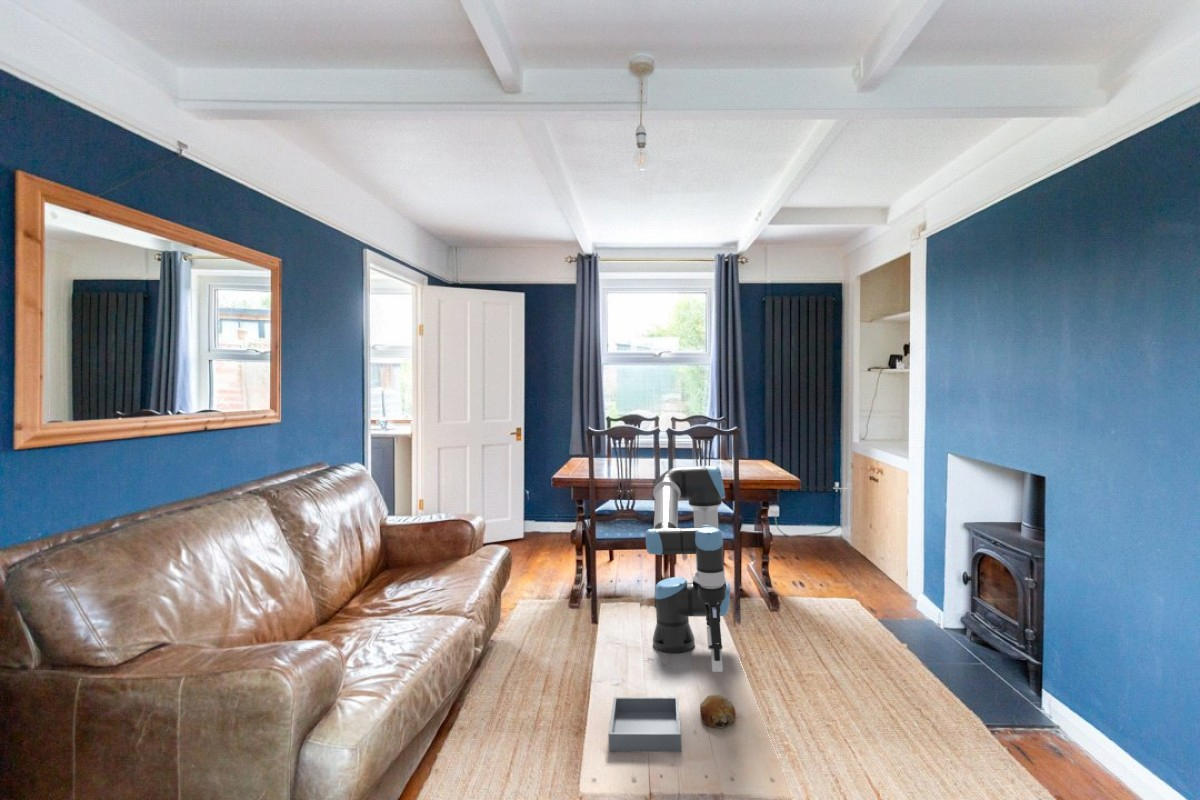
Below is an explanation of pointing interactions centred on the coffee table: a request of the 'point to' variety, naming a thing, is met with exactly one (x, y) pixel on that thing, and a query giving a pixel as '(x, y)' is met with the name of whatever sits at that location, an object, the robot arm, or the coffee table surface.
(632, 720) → the grey tray
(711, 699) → the bread roll
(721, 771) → the coffee table surface
